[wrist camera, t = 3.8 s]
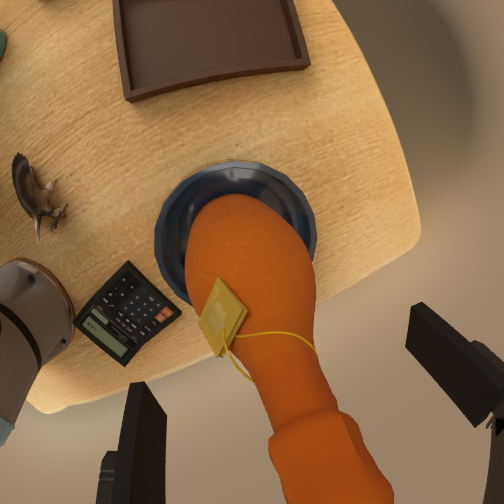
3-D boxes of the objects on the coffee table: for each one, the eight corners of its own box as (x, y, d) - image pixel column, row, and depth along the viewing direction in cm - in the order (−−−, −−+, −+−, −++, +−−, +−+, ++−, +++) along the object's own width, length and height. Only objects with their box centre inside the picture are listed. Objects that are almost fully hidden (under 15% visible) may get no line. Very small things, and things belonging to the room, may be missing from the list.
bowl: (184, 308, 35) (182, 331, 30) (144, 180, 29) (134, 186, 24) (308, 276, 36) (323, 294, 32) (288, 147, 30) (303, 147, 26)
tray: (130, 103, 26) (124, 99, 23) (116, -2, 20) (111, -11, 17) (303, 70, 27) (311, 64, 25) (274, -28, 22) (279, -38, 19)
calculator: (181, 311, 35) (180, 324, 32) (126, 354, 36) (123, 368, 33) (128, 260, 32) (122, 270, 29) (77, 312, 33) (70, 324, 30)
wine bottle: (251, 173, 30) (542, 360, 2) (289, 247, 34) (467, 476, 6) (172, 218, 30) (92, 543, 3) (217, 287, 34) (269, 565, 6)
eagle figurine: (86, 179, 26) (31, 136, 22) (52, 226, 22) (-9, 178, 17) (69, 212, 31) (21, 175, 26) (42, 255, 26) (-10, 215, 22)
